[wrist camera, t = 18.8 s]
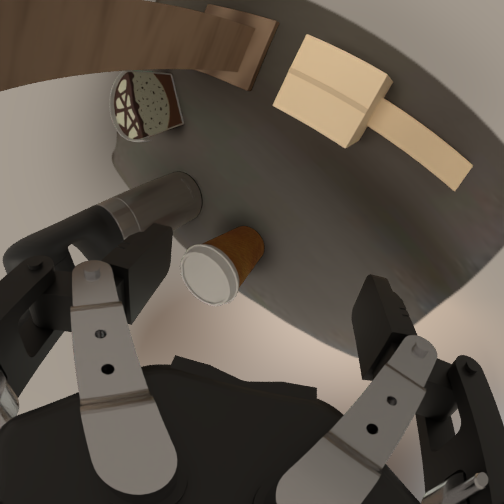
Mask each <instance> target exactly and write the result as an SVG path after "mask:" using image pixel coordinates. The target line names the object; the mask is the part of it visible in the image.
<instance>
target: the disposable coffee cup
mask: <svg viewBox="0 0 504 504" xmlns="http://www.w3.org/2000/svg"><path fill="white" fill-rule="evenodd" d="M263 253H264V243H263V240H262V238H261V236H260V235H259V234H258V233H257V232H256V231H255V230H254V229H252V228H250V227H247V226H240V227H237V228H235V229H233V230H231V231H229V232H227V233H224V234H222V235H220V236H218V237H216V238H214V239H212V240H209V241H207V242H205V243H203V244H197V245H193V246H191V247H190V248H189V249H187V251H186V252H185V254H184V257H183V258H182V260H181V264H180V272H181V276H182V279H183V282H184V283H185V285H186V287H187V289H188V290H189V291H190V292H191V293H192V294H193V295H194V296H195V297H196V298H197V299H198V300H200V301H201V302H203V303H205V304H207V305H211V306H220V305H223V304H226V303H229V302H231V301H232V300H234V298H235V297H236V295H237V293H238V289H239V287H240V286H241V284H242V283H243V282H244V280H245V279H246V277H247V276H248V275H249V273H250V272H251V270H252V269H253V268H254V266H255V265H256V263H257V262H258V261H259V259H260V258H261V257H262V255H263Z"/></svg>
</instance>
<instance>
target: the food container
mask: <svg viewBox="0 0 504 504" xmlns="http://www.w3.org/2000/svg"><path fill="white" fill-rule="evenodd" d="M109 106H110V114H111V118H112V122H113V124H114V126H115V128H116V130H117V131H118V133H119V134H120V135H121V136H122V137H124V138H125V139H127V140H129V141H133V142H149V141H151V140H144V139H145V138H148V137H151V136H153V135H156V134H158V133H161V132H164V131H166V130H169V129H172V128H175V127H177V126H180V125H183V124H184V121H183V117H182V113H181V109H180V105H179V101H178V96H177V92H176V88H175V84H174V80H173V76H172V74H171V73H161V72H150V71H137V70H125V71H122V72H121V73H120V74H119V75H118V77H117V78H116V80H115V81H114V84H113V86H112V89H111V94H110V105H109Z"/></svg>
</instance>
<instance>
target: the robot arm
mask: <svg viewBox="0 0 504 504" xmlns="http://www.w3.org/2000/svg"><path fill="white" fill-rule="evenodd" d="M201 206H202V198H201V193H200V190H199V188H198V186H197V184H196V183H195V181H194V180H193V179H192V178H191V177H190V176H188V175H187V174H185V173H182V172H173V173H171V174H168V175H165V176H163V177H160V178H157V179H155V180H152V181H150V182H147V183H145V184H142V185H140V186H138V187H135V188H133V189H130V190H128V191H126V192H123V193H121V194H119V195H116V196H114V197H112V198H109V199H108V200H105V201H103V202H101V203H98V204H96V205H94V206H92V207H90V208H88V209H85V210H83V211H81V212H79V213H77V214H75V215H73V216H71V217H69V218H66V219H65V220H62V221H60V222H58V223H56V224H54V225H51V226H49V227H47V228H45V229H42V230H40V231H38V232H36V233H33V234H31V235H29V236H27V237H25V238H23V239H21V240H19V241H18V242H16V243H15V244H13V245H12V246H11V247H10V248H8V250H7V251H6V252H5V254H4V256H3V264H4V267H5V270H6V272H7V275H6V276H5V277H4V278H3V279H2V280H1V281H0V504H504V426H503V422H502V419H501V416H500V414H499V411H498V408H497V405H496V402H495V400H494V397H493V394H492V392H491V390H490V387H489V384H488V382H487V379H486V377H485V375H484V372H483V370H482V368H481V366H480V365H479V364H478V363H477V362H476V361H475V360H474V359H472V358H471V357H468V356H465V355H460V356H458V357H457V358H456V360H455V361H454V362H453V364H450V363H447V362H445V361H442V360H440V359H438V358H437V352H436V349H435V348H434V346H433V345H432V344H431V343H430V342H429V341H427V340H426V339H424V338H422V337H420V336H417V333H416V331H415V328H414V326H413V324H412V321H411V319H410V317H409V314H408V312H407V310H406V307H405V305H404V303H403V301H402V300H401V298H400V297H399V296H398V295H397V294H396V293H395V292H393V291H392V289H391V286H390V284H389V282H388V280H387V279H386V278H383V277H379V276H375V275H371V274H370V275H368V276H367V278H366V280H365V282H364V284H363V287H362V289H361V291H360V293H359V296H358V298H357V300H356V302H355V305H354V307H353V311H352V324H353V329H354V334H355V340H356V345H357V351H358V357H359V363H360V369H361V375H362V380H370V381H372V382H371V383H370V385H369V386H368V387H367V388H366V390H365V391H364V392H363V393H362V395H361V396H360V397H359V398H358V399H357V401H356V402H355V403H354V404H353V405H352V406H351V408H350V409H349V410H348V411H347V412H346V413H345V414H344V415H343V414H342V413H341V412H340V411H338V410H337V409H335V408H334V407H333V406H331V405H329V404H327V403H326V402H324V401H322V400H319V399H317V388H315V387H309V386H303V385H297V384H292V383H286V382H247V381H243V380H240V379H238V378H236V377H234V376H231V375H229V374H227V373H225V372H223V371H220V370H219V369H217V368H214V367H213V366H211V365H208V364H204V363H200V362H197V361H193V360H189V359H186V358H183V357H179V356H176V355H175V357H174V360H173V362H172V364H171V365H149V366H143V367H141V366H140V363H139V360H138V357H137V354H136V351H135V348H134V344H133V341H132V337H131V335H130V330H129V327H128V324H131V325H132V323H133V322H134V321H135V319H136V318H137V316H138V314H139V313H140V312H141V310H142V309H143V307H144V306H145V305H146V303H147V302H148V300H149V299H150V297H151V296H152V295H153V293H154V292H155V290H156V289H157V288H158V286H159V285H160V283H161V282H162V281H163V279H164V278H165V276H166V275H167V273H168V270H169V267H170V262H171V247H172V235H173V230H175V229H177V228H179V227H181V226H182V225H184V224H186V223H187V222H189V221H191V220H193V219H194V218H196V217H197V216H198V214H199V213H200V210H201ZM71 244H73V245H74V246H75V247H77V248H78V249H79V250H80V251H81V252H82V253H83V255H84V256H85V257H86V258H87V259H88V260H89V261H85V262H82V263H80V264H78V265H77V266H76V267H75V265H74V263H73V260H72V258H71V255H70V253H69V251H68V246H69V245H71ZM64 331H68V332H72V341H73V352H74V361H75V369H76V376H77V383H78V389H79V392H78V393H76V394H73V395H71V396H68V397H66V398H63V399H60V400H58V401H55V402H53V403H50V404H47V405H45V406H42V407H39V408H37V409H34V410H31V411H28V412H26V413H23V414H20V415H18V416H17V413H18V410H19V401H18V397H19V395H20V394H21V392H22V391H23V389H24V388H25V386H26V385H27V383H28V382H29V380H30V378H31V377H32V376H33V374H34V373H35V371H36V370H37V368H38V367H39V365H40V364H41V362H42V361H43V360H44V358H45V357H46V355H47V354H48V353H49V351H50V350H51V349H52V347H53V346H54V344H55V343H56V342H57V340H58V339H59V337H60V336H61V335H62V334H63V332H64ZM457 409H458V410H459V414H460V418H461V427H460V430H459V432H458V433H457V434H456V435H455V432H454V427H453V423H452V419H451V415H452V414H453V413H454V412H455V411H456V410H457ZM414 415H416V421H417V426H418V433H419V440H420V446H421V454H422V462H423V471H424V482H425V495H424V497H423V499H422V501H421V503H420V502H419V501H418V500H417V499H416V498H415V497H414V495H413V494H411V492H410V491H409V490H408V489H407V488H406V487H405V485H404V484H403V483H402V482H401V481H400V480H399V479H398V477H397V476H396V475H395V474H394V473H393V472H392V471H391V470H390V468H389V467H388V466H387V465H386V462H387V461H388V459H389V457H390V456H391V454H392V453H393V451H394V450H395V448H396V446H397V445H398V443H399V441H400V440H401V438H402V436H403V434H404V433H405V431H406V429H407V428H408V426H409V424H410V422H411V420H412V418H413V417H414Z"/></svg>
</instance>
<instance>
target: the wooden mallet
mask: <svg viewBox="0 0 504 504" xmlns="http://www.w3.org/2000/svg"><path fill="white" fill-rule="evenodd" d="M392 83H393V81H392V80H391V78H390V77H389V76H388V75H387V74H386V73H384V72H382V71H381V70H379V69H377V68H375V67H374V66H372V65H370V64H368V63H366V62H365V61H363V60H361V59H359V58H357V57H355V56H353V55H351V54H349V53H347V52H345V51H343V50H341V49H339V48H337V47H335V46H333V45H331V44H328V43H326V42H324V41H322V40H320V39H317V38H315V37H313V36H310V35H308V34H307V35H306V37H305V39H304V41H303V43H302V45H301V47H300V49H299V51H298V53H297V55H296V57H295V59H294V61H293V63H292V65H291V67H290V69H289V71H288V74H287V76H286V78H285V80H284V82H283V84H282V86H281V89H280V91H279V93H278V95H277V97H276V99H275V101H274V104H273V106H274V107H276V108H278V109H280V110H282V111H283V112H285V113H287V114H289V115H291V116H293V117H294V118H296V119H298V120H300V121H301V122H303V123H305V124H306V125H308V126H310V127H312V128H313V129H315V130H317V131H318V132H320V133H322V134H323V135H325V136H326V137H328V138H330V139H331V140H333V141H334V142H336V143H338V144H339V145H341V146H342V147H344V148H347V147H349V146H351V145H352V144H354V143H356V142H357V141H359V140H360V138H361V137H362V135H363V133H364V131H365V130H366V128H367V126H368V127H370V128H371V129H373V130H374V131H376V132H377V133H379V134H380V135H382V136H383V137H385V138H386V139H388V140H389V141H391V142H392V143H393V144H395V145H396V146H398V147H399V148H400V149H402V150H403V151H405V152H406V153H407V154H409V155H410V156H411V157H413V158H414V159H415V160H417V161H418V162H419V163H421V164H422V165H423V166H424V167H426V168H427V169H428V170H429V171H431V172H432V173H433V174H434V175H436V176H437V177H438V178H439V179H441V180H442V181H443V182H444V183H445V184H446V185H448V186H449V187H450V188H451V189H452V190H453V191H455V190H456V189H457V188H458V186H459V185H460V184H461V182H462V181H463V179H464V178H465V176H466V175H467V174H468V172H469V171H470V169H471V168H472V166H473V165H472V164H471V163H470V162H469V161H467V160H466V159H465V158H464V157H463V156H462V155H461V154H459V153H458V152H457V151H456V150H455V149H453V148H452V147H451V146H450V145H449V144H447V143H446V142H445V141H444V140H442V139H441V138H440V137H439V136H437V135H436V134H435V133H433V132H432V131H431V130H429V129H428V128H427V127H425V126H424V125H423V124H421V123H420V122H418V121H417V120H416V119H414V118H413V117H411V116H410V115H409V114H407V113H406V112H404V111H403V110H401V109H400V108H398V107H397V106H395V105H394V104H392V103H391V102H389V101H387V100H386V99H384V97H385V95H386V93H387V92H388V90H389V88H390V86H391V85H392Z"/></svg>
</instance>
